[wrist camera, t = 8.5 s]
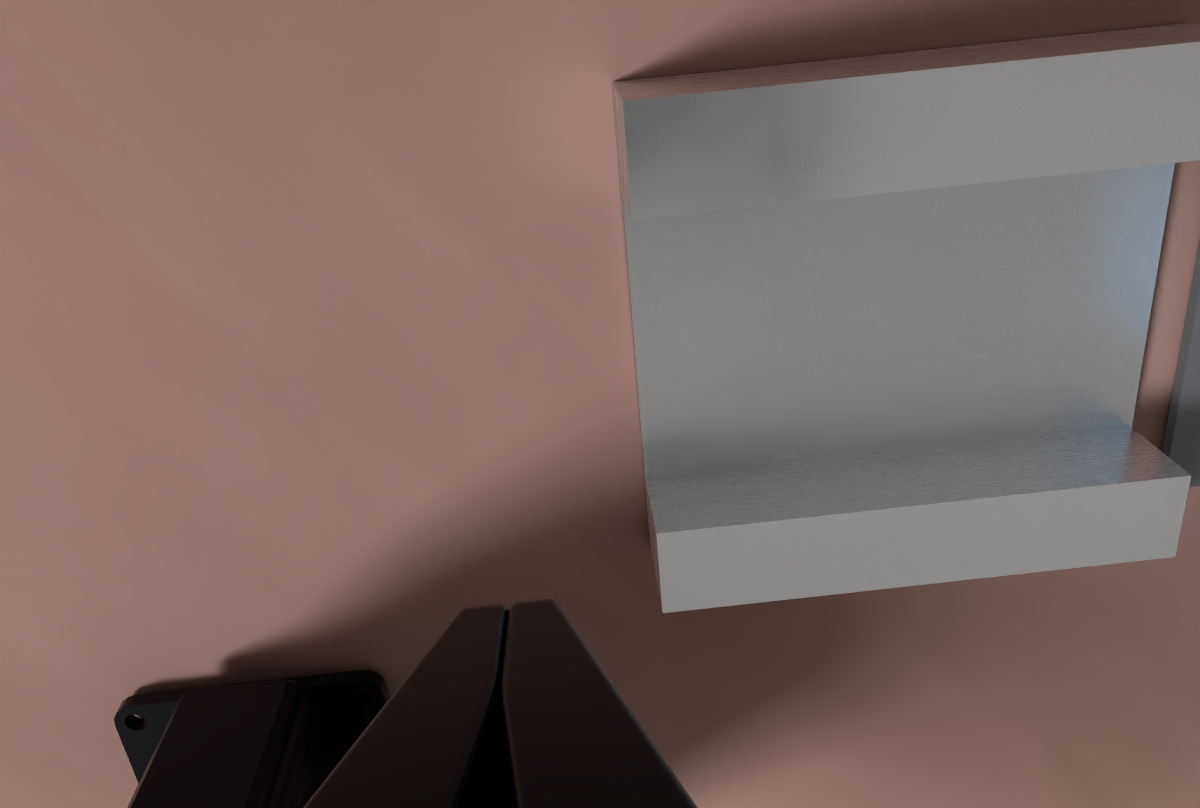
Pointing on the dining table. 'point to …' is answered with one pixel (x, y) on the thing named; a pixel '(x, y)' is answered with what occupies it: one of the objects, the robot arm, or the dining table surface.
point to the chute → (902, 312)
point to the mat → (1187, 392)
